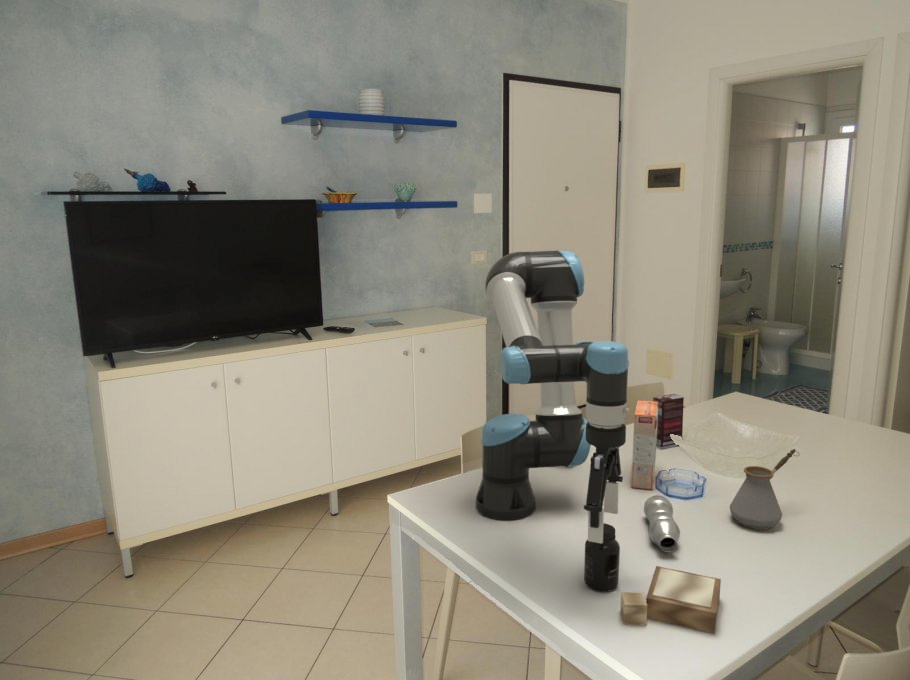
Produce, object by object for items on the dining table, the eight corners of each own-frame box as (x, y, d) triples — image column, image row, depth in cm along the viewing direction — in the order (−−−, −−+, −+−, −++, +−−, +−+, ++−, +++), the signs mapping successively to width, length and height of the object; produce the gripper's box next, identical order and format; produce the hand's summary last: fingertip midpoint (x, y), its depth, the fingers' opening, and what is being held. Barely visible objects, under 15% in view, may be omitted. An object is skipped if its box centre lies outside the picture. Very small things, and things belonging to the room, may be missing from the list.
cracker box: (653, 491, 177) (657, 415, 173) (630, 488, 179) (633, 413, 174) (656, 471, 190) (659, 400, 186) (634, 469, 192) (636, 399, 188)
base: (645, 617, 123) (646, 596, 122) (655, 584, 133) (656, 564, 133) (714, 633, 118) (716, 611, 117) (719, 597, 128) (720, 577, 128)
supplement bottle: (619, 594, 130) (621, 538, 128) (583, 591, 131) (585, 535, 129) (617, 575, 137) (619, 521, 134) (584, 572, 138) (585, 519, 136)
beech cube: (623, 624, 121) (624, 604, 120) (620, 611, 125) (621, 592, 124) (646, 625, 121) (647, 605, 120) (642, 612, 124) (643, 592, 124)
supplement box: (671, 440, 214) (674, 393, 211) (682, 445, 209) (685, 397, 206) (650, 445, 210) (652, 396, 207) (660, 449, 206) (663, 400, 203)
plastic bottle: (673, 515, 162) (686, 557, 142) (644, 518, 163) (654, 559, 144) (669, 490, 161) (682, 529, 141) (640, 494, 162) (650, 532, 143)
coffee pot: (763, 538, 151) (768, 476, 148) (718, 519, 160) (722, 460, 157) (813, 513, 162) (819, 455, 160) (769, 497, 172) (774, 442, 169)
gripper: (611, 445, 115) (608, 559, 119) (637, 407, 137) (634, 504, 141) (569, 440, 118) (567, 551, 122) (601, 404, 140) (599, 498, 144)
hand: (603, 526), depth 131 cm, fingers open, 13 cm apart
